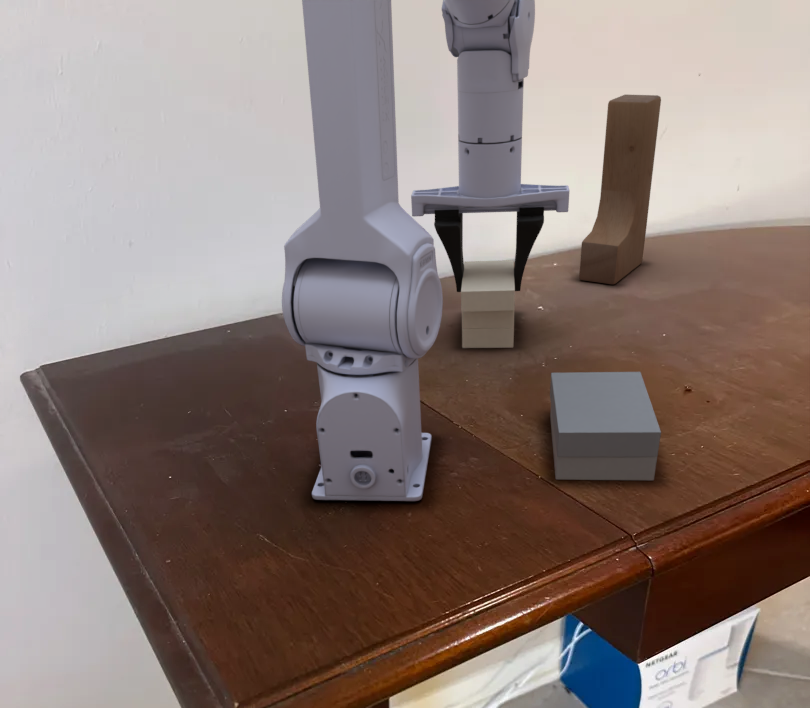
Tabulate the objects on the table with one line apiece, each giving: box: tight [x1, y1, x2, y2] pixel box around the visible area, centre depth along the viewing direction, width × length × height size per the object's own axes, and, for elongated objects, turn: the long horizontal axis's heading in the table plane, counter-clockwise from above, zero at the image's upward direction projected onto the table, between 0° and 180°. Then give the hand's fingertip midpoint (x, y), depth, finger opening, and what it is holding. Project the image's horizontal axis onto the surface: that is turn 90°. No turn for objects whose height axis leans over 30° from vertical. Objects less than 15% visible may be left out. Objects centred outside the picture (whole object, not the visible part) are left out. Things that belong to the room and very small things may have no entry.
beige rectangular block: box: [460, 259, 516, 313], centre depth 80 cm, size 9×5×2 cm, turn 175°
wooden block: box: [578, 94, 662, 285], centre depth 91 cm, size 9×4×18 cm, turn 146°
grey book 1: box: [549, 371, 662, 458], centre depth 61 cm, size 10×7×2 cm
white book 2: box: [461, 327, 515, 349], centre depth 83 cm, size 9×5×2 cm, turn 174°
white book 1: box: [461, 310, 515, 330], centre depth 82 cm, size 9×5×2 cm, turn 174°
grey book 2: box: [549, 408, 658, 482], centre depth 62 cm, size 10×7×2 cm
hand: (488, 288), depth 81 cm, fingers closed on beige rectangular block, 5 cm apart
